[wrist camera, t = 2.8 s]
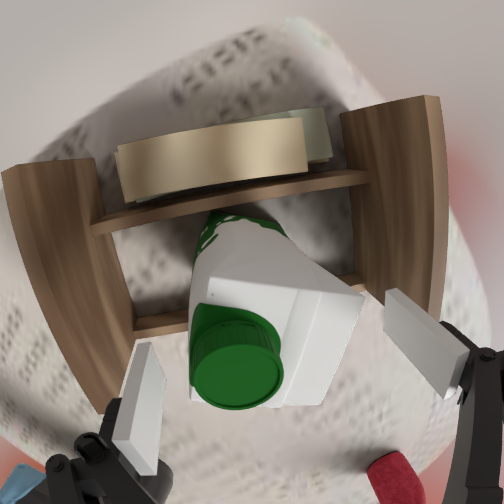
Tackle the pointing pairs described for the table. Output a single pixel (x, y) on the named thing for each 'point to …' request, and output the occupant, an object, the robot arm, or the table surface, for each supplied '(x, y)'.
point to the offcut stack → (223, 153)
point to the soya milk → (263, 318)
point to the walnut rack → (101, 225)
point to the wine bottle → (395, 481)
